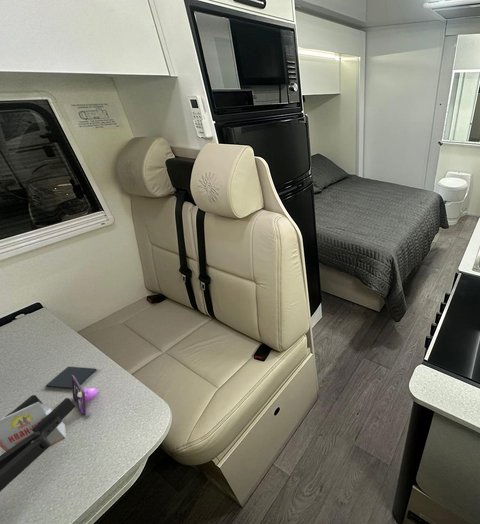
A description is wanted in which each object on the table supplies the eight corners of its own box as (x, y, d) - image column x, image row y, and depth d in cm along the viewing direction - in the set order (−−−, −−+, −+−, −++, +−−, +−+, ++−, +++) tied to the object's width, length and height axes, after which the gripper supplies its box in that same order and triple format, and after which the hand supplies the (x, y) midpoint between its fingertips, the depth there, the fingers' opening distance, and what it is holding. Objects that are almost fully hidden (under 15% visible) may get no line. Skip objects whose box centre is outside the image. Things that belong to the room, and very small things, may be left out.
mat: (46, 386, 77) (45, 385, 77) (69, 367, 82) (68, 366, 82) (75, 389, 76) (74, 387, 76) (96, 369, 81) (96, 368, 81)
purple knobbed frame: (67, 376, 71) (78, 394, 67) (94, 368, 76) (106, 384, 71) (68, 398, 73) (79, 418, 68) (95, 389, 77) (106, 407, 73)
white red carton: (20, 448, 57) (-12, 418, 52) (65, 425, 60) (39, 395, 56) (19, 463, 54) (-15, 433, 49) (65, 438, 58) (38, 408, 53)
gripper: (-148, 551, 42) (22, 407, 62) (-33, 571, 40) (105, 415, 60) (-197, 531, 38) (1, 385, 58) (-74, 551, 36) (88, 392, 56)
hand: (53, 400), depth 59 cm, fingers closed on white red carton, 7 cm apart
